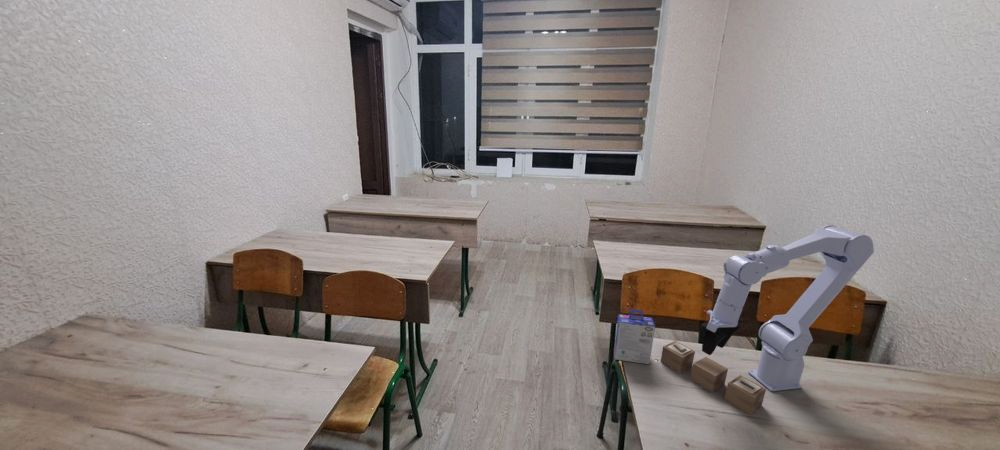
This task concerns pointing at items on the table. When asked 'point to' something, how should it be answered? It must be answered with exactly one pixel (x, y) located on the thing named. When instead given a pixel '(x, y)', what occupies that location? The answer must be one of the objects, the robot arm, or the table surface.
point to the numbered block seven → (677, 356)
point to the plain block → (708, 374)
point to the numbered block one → (745, 394)
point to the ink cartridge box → (634, 338)
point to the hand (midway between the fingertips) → (712, 349)
